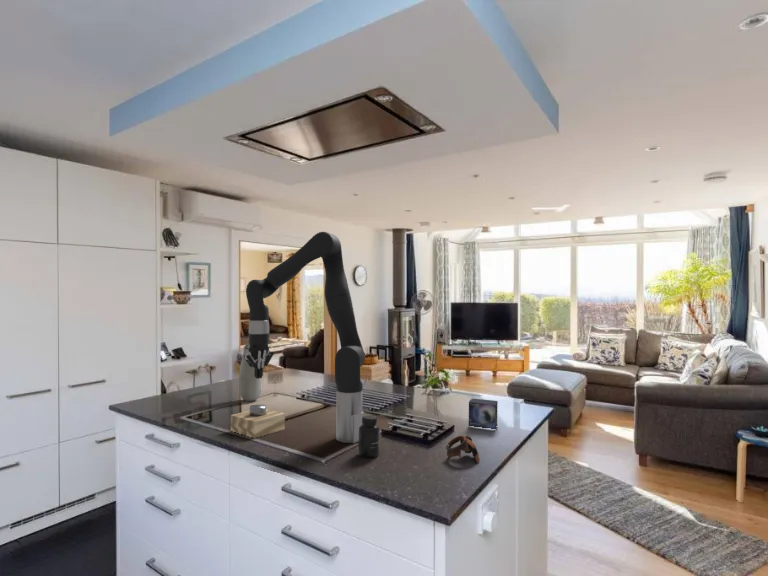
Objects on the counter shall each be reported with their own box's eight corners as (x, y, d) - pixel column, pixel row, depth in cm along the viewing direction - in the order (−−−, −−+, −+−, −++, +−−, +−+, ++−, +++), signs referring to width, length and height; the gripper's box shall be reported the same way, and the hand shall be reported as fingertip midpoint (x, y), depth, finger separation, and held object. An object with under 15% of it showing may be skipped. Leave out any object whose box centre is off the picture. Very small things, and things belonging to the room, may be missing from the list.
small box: (467, 428, 168) (467, 401, 168) (471, 424, 174) (471, 397, 174) (495, 431, 164) (495, 404, 164) (497, 427, 170) (497, 400, 170)
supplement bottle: (376, 459, 135) (377, 420, 135) (355, 457, 136) (356, 419, 136) (381, 451, 141) (381, 414, 142) (361, 450, 143) (361, 413, 143)
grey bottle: (235, 401, 208) (236, 343, 209) (252, 397, 217) (253, 341, 217) (248, 404, 203) (249, 344, 203) (265, 400, 211) (266, 342, 212)
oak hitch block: (284, 429, 165) (284, 413, 165) (254, 438, 153) (254, 421, 153) (260, 422, 173) (261, 407, 173) (230, 431, 161) (230, 415, 162)
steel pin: (269, 428, 164) (269, 406, 164) (256, 432, 159) (256, 409, 159) (258, 425, 167) (259, 403, 167) (245, 429, 162) (246, 406, 162)
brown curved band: (479, 469, 129) (466, 445, 129) (452, 477, 133) (439, 454, 133) (485, 446, 140) (472, 424, 140) (460, 454, 144) (447, 433, 144)
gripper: (250, 333, 156) (250, 382, 156) (279, 331, 167) (278, 376, 167) (238, 333, 161) (237, 379, 160) (266, 330, 172) (266, 374, 171)
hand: (258, 378), depth 164 cm, fingers closed
